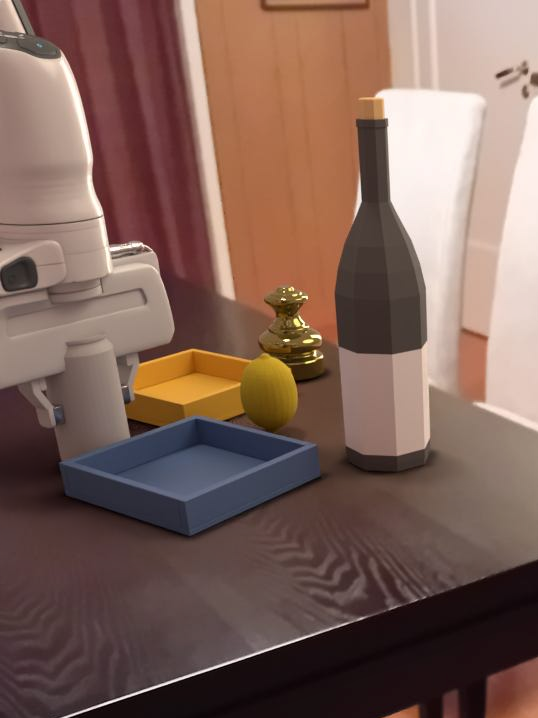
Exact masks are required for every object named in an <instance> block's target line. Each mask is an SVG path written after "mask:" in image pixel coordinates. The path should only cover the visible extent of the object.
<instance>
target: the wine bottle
mask: <svg viewBox="0 0 538 718" xmlns="http://www.w3.org/2000/svg"><path fill="white" fill-rule="evenodd" d="M357 107H358V118H355V128H356V129H357V144H358V145H357V147H358V163H359V180H360V198H361V202H360V204H359V208H358V210H357V212H356V215H355V217H354V220H353V222H352V224H351V227H350V229H349V231H348V234H347V236H346V238H345V241H344V244H343V247H342V251H341V255H340V258H339V262H338V265H337V271H336V277H335V278H336V279H335V285H334V307H335V320H336V332H337V333H336V335H337V347H338V358H339V359H338V361H339V374H340V375H339V376H340V388H341V389H340V390H341V401H342V414H343V429H344V442H345V453H346V458H347V462H348V463H351V464H352V465H354V466H356V467H358V468H360V469H362V470H364V471H369V472H370V471H371V472H394V473H398V472H402V471H405V470H409V469H413V468H416V467H419V466H424V465H425V464H426V462H427V459H428V457H429V455H430V451H431V421H430V420H431V418H430V417H431V416H430V386H429V385H430V383H429V381H430V380H429V351H428V350H429V349H428V347H429V346H428V318H427V317H428V315H427V313H428V312H427V287H426V281H425V278H424V274H423V270H422V265H421V263H420V260H419V257H418V254H417V251H416V248H415V246H414V243H413V240H412V238H411V237H410V235H409V233H408V231H407V229H406V227H405V225H404V223H403V222H402V220H401V218H400V216H399V214H398V213H397V210H396V209H395V206H394V204H393V202H392V199H391V180H390V158H389V157H390V156H389V133H388V132H389V131H388V127H389V118H388V117H387V118H386V115H385V111H386V110H385V98H384V97H359V98H358V99H357Z"/></svg>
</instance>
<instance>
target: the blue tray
mask: <svg viewBox="0 0 538 718" xmlns="http://www.w3.org/2000/svg"><path fill="white" fill-rule="evenodd" d="M319 457H320V456H319V446H318V444H317V443H312V442H309V441H306V440H301V439H297V438H293V437H289V436H285V435H281V434H277V433H274V434H273V433H269V432H268V431H266V430H260V429H257V428H252V427H248V426H245V425H240V424H236V423H233V422H228V421H225V420H223V421H220V420H216V419H212V418H208V417H204V416H199V415H194V416H191V417H188V418H185V419H183V420H180V421H177V422H174V423H171V424H168V425H165V426H163V427H160V426H159V427H157V428H154V429H151V430H149V431H146V432H143V433H139V434H137V435H134V436H130V438H128V439H125V440H123V441H120V442H117V443H114V444H111V445H108V446H105V447H103V448H100V449H97V450H94V451H91V452H88V453H85V454H83V455H80V456H77V457H74V458H71V459H68V460H65V461H63V462H62V461H60V462H58V465H59V471H60V474H61V479H62V483H63V487H64V493H65V496H68V497H69V498H70V497H71V498H73V499H76V500H79V501H83V502H86V503H88V504H92V505H94V506H97V507H99V508H103V509H107V510H110V511H113V512H116V513H119V514H122V515H125V516H127V517H131V518H134V519H137V520H139V521H142V522H147V523H149V524H151V525H155V526H157V527H161V528H164V529H167V530H169V531H172V532H176V533H179V534H182V535H185V536H188V537H191V536H192V537H193V536H194V535H196V534H198V533H200V532H203V531H204V530H207V529H209V528H211V527H214V526H215V525H218V524H220V523H222V522H224V521H226V520H228V519H231V518H233V517H235V516H237V515H239V514H241V513H244V512H246V511H248V510H250V509H252V508H255V507H256V506H259V505H261V504H263V503H265V502H267V501H270V500H272V499H274V498H277V497H278V496H280V495H282V494H284V493H287V492H289V491H292V490H294V489H296V488H298V487H300V486H302V485H304V484H306V483H308V482H311V481H313V480H315V479H317V478H320V477H321V467H320V458H319Z"/></svg>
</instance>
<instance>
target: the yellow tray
mask: <svg viewBox="0 0 538 718" xmlns="http://www.w3.org/2000/svg"><path fill="white" fill-rule="evenodd" d="M252 361H253V360H251V359H246V358H242V357H237V356H231V355H226V354H222V353H216V352H211V351H207V350H202V349H197V348H190V349H185V350H183V351H179V352H176V353H172V354H169V355H166V356H162V357H158V358H154V359H152V360H148V361H145V362H141V363H140V364H139V367H138V370H137V373H136V377H135V380H134V383H133V384H132V385H133V390H134V396H135V401H134V402H132V403H129V404H125V405H124V406H125V411H126V417H127V419H130V420H134V421H136V422H137V421H138V422H142V423H146V424H150V425H153V426H157V427H159V428H160V427H163V426H165V425H168V424H171V423H174V422H177V421H180V420H183V419H185V418H188V417H191V416H194V415H199V416H204V417H208V418H212V419H216V420H220V421H226V420H229V419H232V418H234V417H237V416H240V415H243V414H246V413H245V411H244V409H243V406H242V402H241V397H240V384H241V378H242V374H243V371H244V369H245V368H246V366H247V365H248V364H249V363H250V362H252ZM289 369H290V371H291V368H289Z"/></svg>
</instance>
